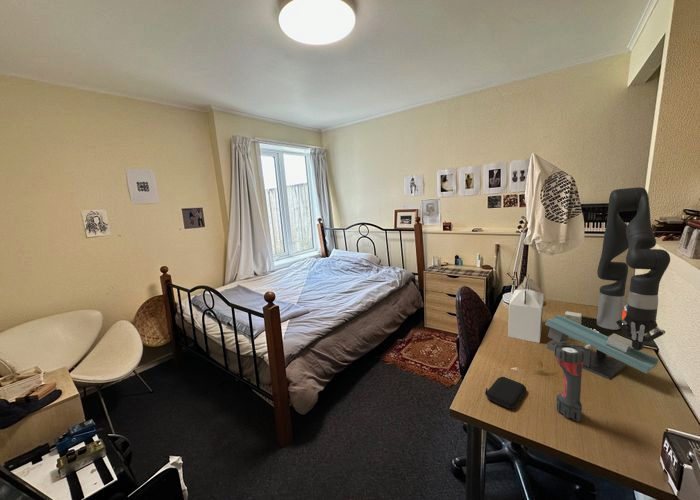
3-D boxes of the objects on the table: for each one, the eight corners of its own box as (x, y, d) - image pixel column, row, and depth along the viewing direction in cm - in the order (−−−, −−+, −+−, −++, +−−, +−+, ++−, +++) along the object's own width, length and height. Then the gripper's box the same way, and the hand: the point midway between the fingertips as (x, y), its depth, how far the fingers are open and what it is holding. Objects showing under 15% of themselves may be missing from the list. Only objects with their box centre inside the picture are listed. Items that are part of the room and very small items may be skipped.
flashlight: (550, 399, 100) (554, 339, 96) (579, 407, 95) (584, 344, 91) (550, 414, 94) (554, 350, 89) (581, 423, 89) (587, 356, 85)
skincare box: (580, 337, 137) (582, 313, 135) (579, 341, 134) (581, 316, 132) (564, 333, 141) (565, 310, 139) (562, 337, 138) (564, 313, 136)
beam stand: (560, 341, 135) (561, 325, 134) (627, 366, 114) (629, 347, 113) (541, 350, 129) (542, 334, 127) (608, 379, 108) (610, 360, 106)
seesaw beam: (556, 328, 135) (560, 312, 132) (653, 375, 107) (662, 356, 104) (539, 337, 129) (543, 320, 126) (637, 389, 101) (645, 369, 98)
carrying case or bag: (497, 379, 113) (481, 398, 103) (497, 372, 112) (481, 391, 103) (527, 391, 105) (513, 413, 96) (528, 383, 105) (513, 405, 95)
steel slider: (610, 343, 113) (614, 333, 112) (629, 352, 108) (634, 341, 107) (604, 347, 111) (608, 336, 110) (624, 356, 106) (628, 345, 105)
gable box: (513, 319, 160) (515, 271, 155) (542, 324, 152) (544, 273, 147) (507, 337, 142) (509, 283, 137) (539, 343, 135) (542, 286, 129)
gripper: (673, 307, 97) (667, 354, 101) (622, 297, 109) (618, 339, 112) (664, 313, 94) (658, 361, 97) (613, 301, 106) (609, 345, 109)
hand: (637, 349), depth 105 cm, fingers closed
